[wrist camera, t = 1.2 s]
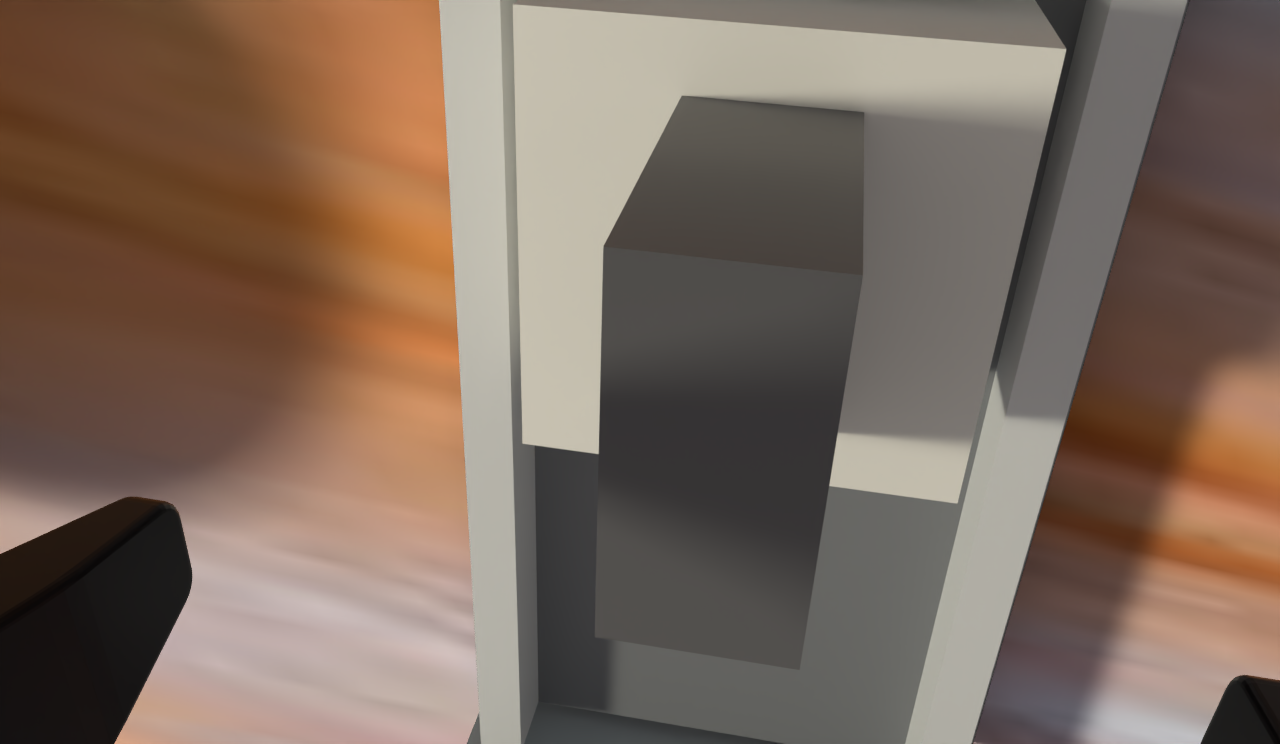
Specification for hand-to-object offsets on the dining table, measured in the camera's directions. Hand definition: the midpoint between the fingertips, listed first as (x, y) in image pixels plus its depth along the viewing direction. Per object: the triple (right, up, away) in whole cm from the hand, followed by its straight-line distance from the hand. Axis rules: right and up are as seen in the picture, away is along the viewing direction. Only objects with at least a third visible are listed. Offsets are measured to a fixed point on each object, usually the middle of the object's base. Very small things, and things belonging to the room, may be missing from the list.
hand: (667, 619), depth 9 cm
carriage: (+2, +5, +10) cm, 11 cm away
